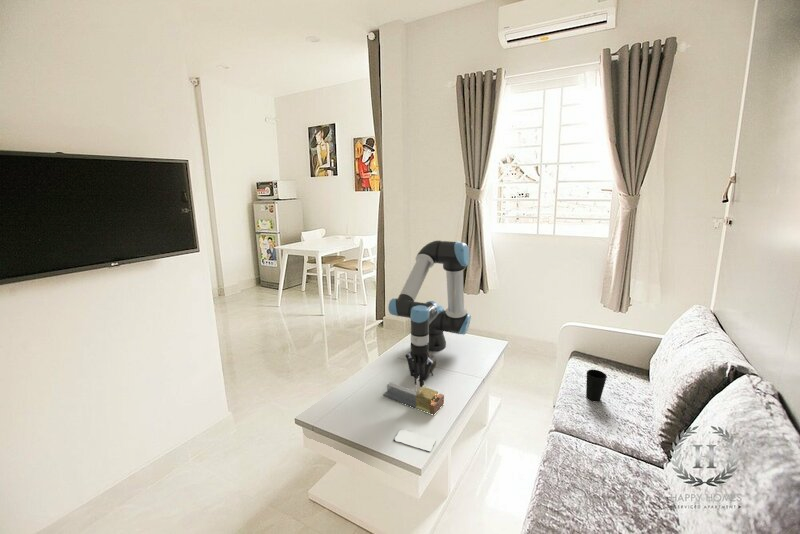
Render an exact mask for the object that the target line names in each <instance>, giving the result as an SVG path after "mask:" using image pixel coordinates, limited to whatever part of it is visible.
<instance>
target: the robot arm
mask: <svg viewBox="0 0 800 534" xmlns="http://www.w3.org/2000/svg"><path fill="white" fill-rule="evenodd" d="M470 255H471V254H470V249H469V246H468V245H467V243H466V242H462V241H447V240H433V241H431V242H428V243H427V244H426V245H425V246H423V247H422V248H421V249H420V250H419V251H418V253H417V254H416V257H415V263H414V265H413V267H412V270H411V271H410V273H409V275H408V277H407V279H406V281H405V283H404V285H403V287H402V289H401V291H400V293H399V295H398V297H397V298H392V299H390V301H389V302H388V313H389V314H390V315H392V316H396V317H401V318H409V319H410V352H408V353H407V354H405V356H404V357H405V358H406V360H407V364H408V369H409V374H410V377H413V378H414V385H415V387H416V389H415V391H416V393H418V392H419V391H420V390H421V389H422V388H423V387H424V385H425V381H426V380H427V379H428V378H429V376H430V374H431V373H430V369H431V366H432V364H433V363H434V360H431V359H430V358H429V355H428V352H430V351H431V352H438V351H442V350H444V349H445V348H446V346H447V341H446V338H445V335H444V332H446V333H451V334H457V335H463V336H464V335H466V334H467V332H468V330H469V327H470V324H471V323H470V322H471V320H472V318H471V317H472V316H471V314H470V313H468V310H467V308H465V300H464V299H465V295H464V294H465V293H464V291H465V290H464V270H465V269H466V268H467V266H469V263H470ZM434 264H441V265H442V268H443V270H444V271H445V272H446V292H447V294H446V295H447V308H444V306H442V305H439V304H438V303H437V302H435V301H433V300H429V301H426V302H419V301H415V300H416V298H417V296H418V294H419V292H420V291H421V288H422V285H423V284H424V281H425V279H426V277H427V275H428V273H429V270H430V269H431V268H432V267H433V266H434ZM413 360H414V362H413ZM426 361H427V366H426V370H425V362H426Z"/></svg>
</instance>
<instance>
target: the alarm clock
mask: <svg viewBox="0 0 800 534" xmlns="http://www.w3.org/2000/svg"><path fill="white" fill-rule="evenodd" d="M428 355H429V358H430V359H431V360H434V363H433V364H432V366H431V369H430V373H429V374H431V376H434V373H433V371H434V369H435V368H436V365H437V360H436V357H435V356H434V355H433V353H432V352H430V351H428ZM413 362H414V360H413ZM426 366H427V361H426V362H425V370H426Z"/></svg>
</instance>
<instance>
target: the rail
mask: <svg viewBox="0 0 800 534" xmlns="http://www.w3.org/2000/svg"><path fill="white" fill-rule="evenodd" d="M416 394H417V393H416V390H413V389H410V388H408V387H404V386H402V385H400V384H396V383H393V382H388V383H387V384H386V391H385V392H384V393H383V394H382V396H383V397H384V398H386V399H387V398H388V399H390V400H393V401H394V400H395V402H397V403H399V404H402V403H403V405H405V404H406V405H405V406H407V405H408V406H407V407H410V406H411V407H410V408H412V407H413V408H412V409H415V408H416V410H417V409H419V410H418V411H420V410H422V411H425V412H428V413H430V414H433V415H434V414H435V413H436V412H437V411H438V410H439V409H440V407H441V406H442V405H443V404H445V394H442V393H438V396H437V397H436V398H435V399H434V401H433V402H432V403H431V404H430V411H427V410H425V409H422V408H419V407H417V406H416ZM443 406H444V405H443ZM443 406H442V407H443ZM442 407H441V408H442ZM440 410H441V409H440ZM440 410H439V411H440ZM422 411H421V412H422ZM439 411H438V412H439ZM425 412H424V413H425ZM438 412H437V413H438ZM437 413H436V414H437ZM430 414H429V415H430Z"/></svg>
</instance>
